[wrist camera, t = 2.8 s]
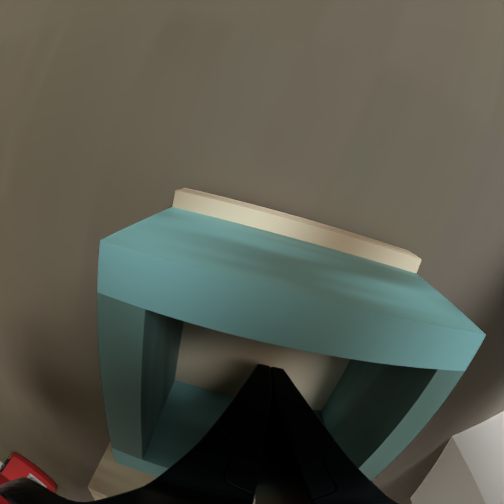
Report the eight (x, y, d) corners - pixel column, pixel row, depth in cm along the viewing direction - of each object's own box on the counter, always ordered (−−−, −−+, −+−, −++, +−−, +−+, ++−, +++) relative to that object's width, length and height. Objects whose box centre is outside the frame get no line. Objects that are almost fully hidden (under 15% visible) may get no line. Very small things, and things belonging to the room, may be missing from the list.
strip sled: (447, 264, 9) (531, 324, 4) (266, 521, 16) (264, 564, 12) (131, 176, 9) (27, 192, 4) (131, 491, 16) (116, 533, 11)
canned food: (5, 442, 19) (-29, 491, 8) (50, 474, 19) (19, 531, 9) (21, 466, 21) (-6, 510, 11) (63, 493, 21) (39, 543, 11)
